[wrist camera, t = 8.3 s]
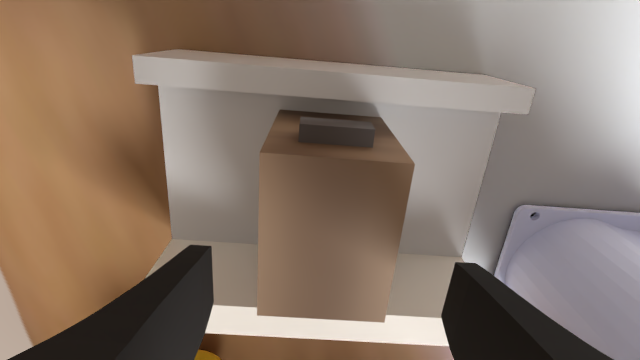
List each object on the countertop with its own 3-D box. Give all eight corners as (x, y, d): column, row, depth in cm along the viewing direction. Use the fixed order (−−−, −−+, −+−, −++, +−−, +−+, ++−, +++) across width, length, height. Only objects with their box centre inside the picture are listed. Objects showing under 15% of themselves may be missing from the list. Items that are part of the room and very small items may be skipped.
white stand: (485, 74, 18) (581, 100, 11) (440, 253, 22) (492, 348, 15) (176, 48, 17) (91, 60, 11) (189, 237, 21) (134, 329, 15)
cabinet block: (382, 103, 16) (419, 144, 10) (364, 233, 18) (384, 322, 13) (280, 95, 16) (259, 131, 10) (275, 227, 18) (256, 315, 13)
